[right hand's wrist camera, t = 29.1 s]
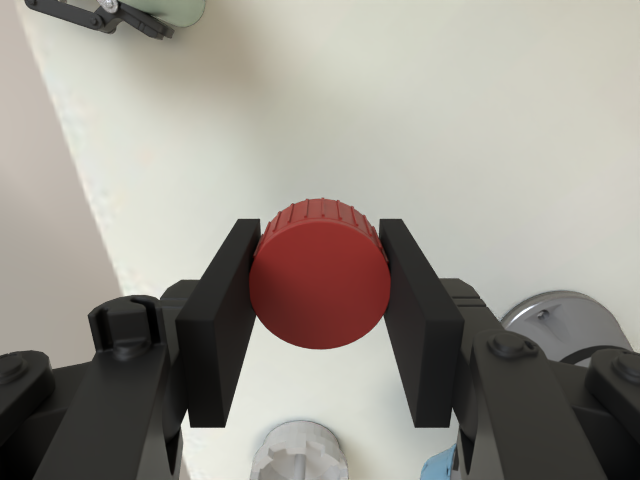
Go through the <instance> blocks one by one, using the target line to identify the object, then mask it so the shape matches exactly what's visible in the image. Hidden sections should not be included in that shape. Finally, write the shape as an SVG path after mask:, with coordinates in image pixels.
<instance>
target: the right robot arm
mask: <svg viewBox="0 0 640 480" xmlns="http://www.w3.org/2000/svg"><path fill="white" fill-rule="evenodd" d="M260 238H261V229H260V219H238V220H237V222H236V223H235V225H234V226H233V228H232V230H231V231H230V233H229V234H228V236H227V238H226V239H225V241H224V242H223V244H222V246H221V247H220V249H219V250H218V252H217V254H216V255H215V257H214V258H213V260H212V262H211V263H210V265H209V266H208V268H207V269H206V271H205V273H204V274H203V276H202V277H201V279H200V280H180V281H179V282H177V283H175V284H174V285H172V286H171V287H169V288H167V290H166V291H165V292H164V294H163V295H162V296H161V298H160V300H158V299H157V298H156V297H152V296H148V295H131V296H125V297H119V298H116V299H113V300H110V301H107V302H105V303H103V304H101V305H99V306H98V307H96V308H94V309H93V310H92V311H91V312H90V313H89V314H88V319H89V323H90V328H91V332H92V336H93V341H94V345H95V349H96V354H95V355H94V358H93V359H92V361H90V362H86V363H82V364H77V365H72V366H67V367H62V368H57V369H52V367H51V364H50V360H49V357H48V356H47V355H46V354H44V353H43V352H39V351H33V350H30V351H17V352H12V353H10V354H4V355H1V356H0V480H179V473H180V466H181V458H182V450H183V438H182V431H181V423H182V421H183V418H184V416H185V413H186V411H187V409H188V414H189V421H190V428H225V426H226V422H227V418H228V415H229V411H230V408H231V404H232V401H233V397H234V393H235V390H236V386H237V383H238V379H239V376H240V372H241V368H242V365H243V361H244V358H245V354H246V350H247V347H248V343H249V340H250V336H251V333H252V329H253V325H254V322H255V318H256V313H255V311H254V309H253V307H252V304H251V301H250V288H249V273H250V269H251V266H252V263H253V261H254V258H253V255H254V253H255V250H256V248H257V245H258V243H259V240H260ZM379 239H380V241H381V244H382V246H383V249H384V251H385V254H386V256H387V259H388V261H389V264H388V267H389V270H390V275H391V284H390V298H389V303H388V306H387V308H386V311H385V313H384V314H383V316H384V319H385V323H386V326H387V330H388V334H389V337H390V341H391V344H392V348H393V351H394V355H395V359H396V362H397V366H398V369H399V373H400V376H401V380H402V384H403V387H404V391H405V394H406V398H407V401H408V405H409V409H410V412H411V416H412V419H413V423H414V427H415V428H449V426H450V419H451V412H452V407H453V410H454V412H455V414H456V417H457V419H458V422H459V424H460V425H459V431H458V437H457V443H456V444H454V445H453V446H452V447H451V448H450V449H448V450H446V451H444V452H441V453H439V454H437V455H435V456H433V457H431V458H430V459H428V460H427V461H426V462H425V464H424V466H423V469H422V471H421V478H420V480H640V354H639V353H636V352H634V351H633V349H632V347H631V345H630V344H629V342H628V340H627V338H626V337H625V335H624V333H623V332H622V330H621V328H620V326H619V324H618V322H617V320H616V319H615V317H614V316H613V315H612V314H611V312H609V311H608V310H607V309H606V308H605V307H604V306H602V305H601V304H600V303H598V302H597V301H596V300H594V299H593V298H591V297H589V296H587V295H584V294H581V293H577V292H572V291H554V292H548V293H543V294H540V295H537V296H534V297H532V298H530V299H528V300H526V301H524V302H522V303H520V304H519V305H517V306H516V307H515V308H513V309H512V310H511V311H510V312H509V313H508V314H507V315H506V316H505V317H504V318H503V319H502V320H501V322H499V321H498V320H497V318H496V317H495V316H494V314H493V313H492V312H491V311H490V309H489V308H488V307H486V304H485V303H484V301H483V300H482V299H480V296H479V295H478V294H477V292H476V291H475V290H474V288H473V287H472V286H470V285H468V284H467V283H465V282H463V281H462V280H460V279H459V278H438V276H437V275H436V273H435V272H434V270H433V268H432V267H431V265H430V264H429V262H428V260H427V259H426V257H425V256H424V254H423V252H422V251H421V249H420V248H419V246H418V244H417V243H416V241H415V240H414V238H413V236H412V235H411V233H410V232H409V230H408V228H407V227H406V225H405V224H404V222H403V220H402V219H380V225H379Z"/></svg>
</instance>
